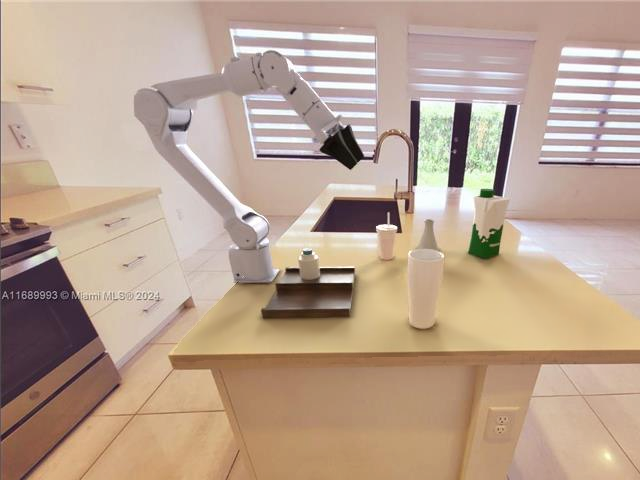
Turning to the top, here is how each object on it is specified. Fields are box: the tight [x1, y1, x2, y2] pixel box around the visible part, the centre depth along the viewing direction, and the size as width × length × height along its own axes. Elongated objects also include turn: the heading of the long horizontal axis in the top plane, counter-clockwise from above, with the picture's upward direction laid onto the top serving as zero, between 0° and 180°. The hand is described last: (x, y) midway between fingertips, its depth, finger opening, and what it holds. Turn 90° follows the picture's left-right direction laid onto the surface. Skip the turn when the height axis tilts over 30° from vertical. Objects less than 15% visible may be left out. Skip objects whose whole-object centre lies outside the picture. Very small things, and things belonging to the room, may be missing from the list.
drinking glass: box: [406, 248, 445, 330], centre depth 61 cm, size 7×7×15 cm
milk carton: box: [467, 188, 511, 260], centre depth 98 cm, size 9×9×20 cm
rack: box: [260, 266, 356, 319], centre depth 74 cm, size 18×21×3 cm
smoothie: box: [375, 211, 398, 261], centre depth 95 cm, size 6×6×14 cm
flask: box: [416, 218, 439, 251], centre depth 103 cm, size 7×7×10 cm
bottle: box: [297, 247, 320, 280], centre depth 78 cm, size 5×5×7 cm
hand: (357, 162), depth 71 cm, fingers open, 7 cm apart
